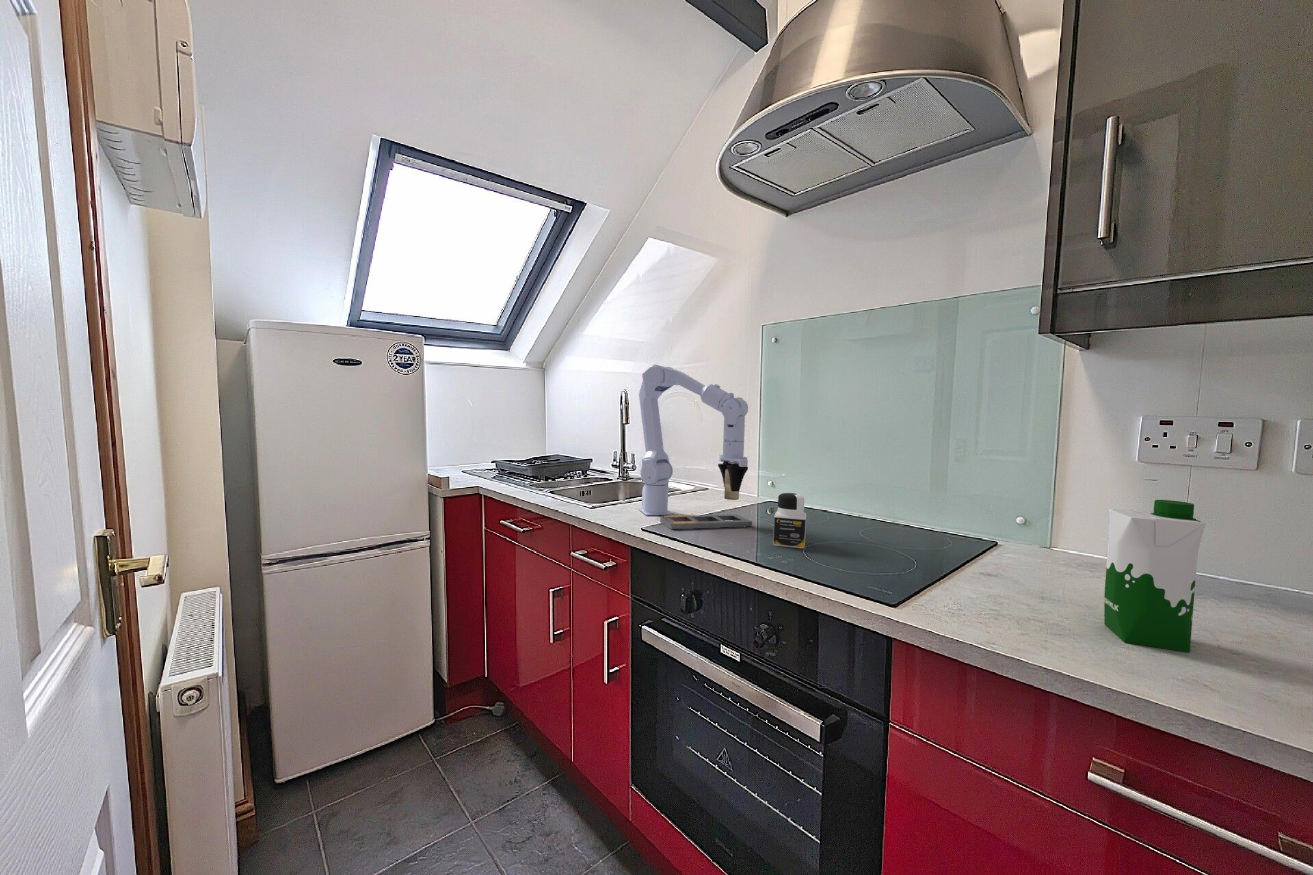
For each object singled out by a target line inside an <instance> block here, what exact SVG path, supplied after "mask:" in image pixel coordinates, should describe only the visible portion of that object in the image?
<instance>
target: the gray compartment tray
mask: <svg viewBox="0 0 1313 875" xmlns="http://www.w3.org/2000/svg"><path fill="white" fill-rule="evenodd" d="M659 516H660V518H659V519H660V523H661V524H662V525H664V526H665V527H667V528H668V529H669V528H670V529H669V530H671V529H683V530H691V529H690V528H710V529H721V528H720V527H738V528H745V527H744V526H752V527H753V521H752V520H750V519H748V518H746V517H743V516H741V515H739V514H737V513H735V514H733V513H730V514H727V513H726V514H702V515H701V514H700V515H699V514H698V515H693V514H692V515H685V514H676V515H675V514H672V515H659ZM725 520H733V521H725Z"/></svg>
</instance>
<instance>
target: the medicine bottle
mask: <svg viewBox="0 0 1313 875" xmlns="http://www.w3.org/2000/svg"><path fill="white" fill-rule="evenodd" d="M773 518H774V519H773V538H772V545H773V546H775V547H786V548H794V549H795V548H798V549H805V548H806V528H807V513H806V512H805V496H804V495H803V494H800V493H794V492H783V493H780V494H779V495H778V497H777V510H776V511H775V513H774V515H773Z"/></svg>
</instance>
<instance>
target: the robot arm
mask: <svg viewBox="0 0 1313 875" xmlns="http://www.w3.org/2000/svg"><path fill="white" fill-rule="evenodd" d="M641 374H642V375H641V377H642V382H641V385H640V389H639V393H638V397H639V405H640V416H641V422H642V431H643V439H644V447H645V453H644V455H643V457H642V459H641V468H640V477H641V480H642V481H643V484H644V485H643V487H642V489H641V490H642V491H641V492H642V493H641V507H639V508H638V510H639V511H640V512H641V513H642V514H643V515H645V516H667V515H673V513H672V512H671V511H670V510H668V509H669V508H668V507H669V480H670V479H671V478H672V476H673V472H674V470H673V466H672V464H671V463H670V459H669V455H668V453H667V452H666V451H665V450H664V443H663V442H664V441H663V433H662V426H661V424H662V423H661V415H660V408H659V400H658V399H659V398H660V397H661V396H662V394H663V393H665V392H666V391H668V390H670V389H671V388H672V387H673V386H680V387H682V388H684V389H686V390H688V391H689V392H691V393H694V394H696V395H699V397H700V400H701V402H702V403H704V405H707V406H708V407H710V408H712V409H714V410H716V411H717V412H720V413H721V414H722V416H723V436H722V438H723V440H722V442H723V443H722V454H719V462H722V463H717V467H718V468H719V470H720V474H721V477H722V482H723V487H724V488H725V470H726V469H728V472H729V476H730V486H731V491H733V492H735V491H739V492H740V490H741V486H742V483H743V480H744V477H745V475H746V473H747V471H749V466H748V465H749V464H748V462H749V461H748V457H747V456H744V454H745V453H744V452H745V431H746V430H745V427H746V424H745V422H746V421H745V419H746V417H745V416H746V415H747V414H748V412H749V405H748V402H747V401H746V400H745V399H744V398H742V397H739V396H738V397H735V393H733V392H727V391H726V390H724V389H722V388H721V386H720V385H719V384H715V383H714V384H708V385H705V384H703V383H701V382H700V381H699V380H698V379H694V378H693V377H691V376H689V374H686V373H685V372H683V371H681V370H678V369H675V368H673V367H671V366H664V365H659V364H657V363H655V364H650V365H649V366H648V367H646V369H645V370H644V371H643V373H641Z"/></svg>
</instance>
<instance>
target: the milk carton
mask: <svg viewBox="0 0 1313 875" xmlns="http://www.w3.org/2000/svg"><path fill="white" fill-rule="evenodd" d="M1194 508H1195V504H1194V503H1192V502H1185V501H1180V500H1178V501H1177V500H1169V499H1155V500H1154V503H1153V511H1148V510H1140V509H1130V510H1126V509H1115V508H1109V514H1108V516H1109V518H1108V519H1109V520H1108V539H1107V553H1106V569H1105V582H1104V583H1105V584H1104V594H1103V595H1104V596H1103V597H1104V598H1103V599H1104V602H1103V604H1104V606H1103V608H1104V610H1103V612H1104V616H1103V617H1104V626H1106V627H1107V628H1108V629H1109V630H1110V631H1112V632H1113V634H1114V635H1116V637H1118V638H1119V639H1120V640H1121V641H1122V642H1124V643H1126V644H1133V645H1140V646H1143V647H1146V646H1147V647H1153V648H1158V649H1165V650H1172V651H1177V652H1184V653H1191V645H1192V644H1191V643H1192V631H1193V616H1194V603H1195V592H1196V579H1197V578H1196V577H1197V566H1198V554H1199V549H1200V545H1201V541H1202V538H1203V534H1204V532H1205V531H1204V529H1205V526H1206V523H1205V522H1203V521H1202V522H1201V520H1198V519H1196V518H1195V517H1194V513H1195V512H1194V510H1195V509H1194Z"/></svg>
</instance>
